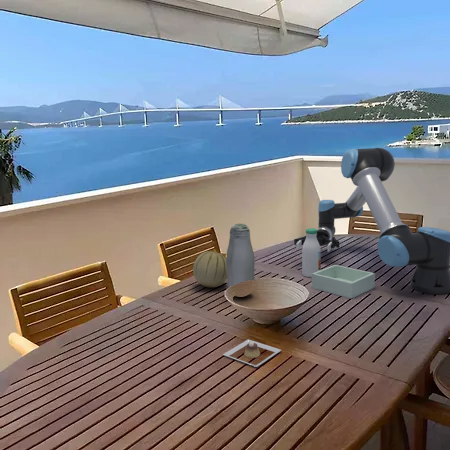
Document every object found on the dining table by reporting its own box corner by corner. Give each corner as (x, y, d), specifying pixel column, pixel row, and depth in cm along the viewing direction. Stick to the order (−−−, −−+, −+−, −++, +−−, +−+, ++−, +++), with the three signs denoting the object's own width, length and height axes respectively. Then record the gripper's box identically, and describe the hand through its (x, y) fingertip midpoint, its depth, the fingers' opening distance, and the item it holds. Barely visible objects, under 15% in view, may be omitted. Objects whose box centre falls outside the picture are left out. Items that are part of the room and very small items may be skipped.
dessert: (248, 342, 143) (247, 327, 142) (281, 353, 135) (281, 337, 134) (222, 358, 134) (221, 342, 133) (256, 370, 126) (256, 354, 125)
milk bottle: (315, 278, 197) (315, 231, 193) (298, 275, 202) (298, 230, 198) (323, 273, 203) (323, 228, 199) (307, 271, 208) (307, 226, 204)
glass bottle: (245, 302, 174) (242, 228, 168) (222, 297, 180) (220, 225, 174) (259, 294, 181) (258, 223, 175) (238, 290, 187) (235, 220, 182)
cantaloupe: (188, 291, 188) (186, 254, 185) (201, 279, 202) (199, 245, 199) (224, 293, 184) (222, 256, 181) (234, 281, 197) (233, 246, 194)
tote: (374, 287, 184) (374, 273, 183) (351, 298, 174) (351, 283, 173) (335, 278, 197) (335, 264, 196) (311, 287, 187) (311, 273, 186)
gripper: (349, 245, 220) (341, 257, 201) (296, 242, 229) (284, 253, 210) (349, 230, 218) (342, 240, 199) (296, 227, 228) (284, 237, 209)
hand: (312, 247), depth 205 cm, fingers open, 13 cm apart
